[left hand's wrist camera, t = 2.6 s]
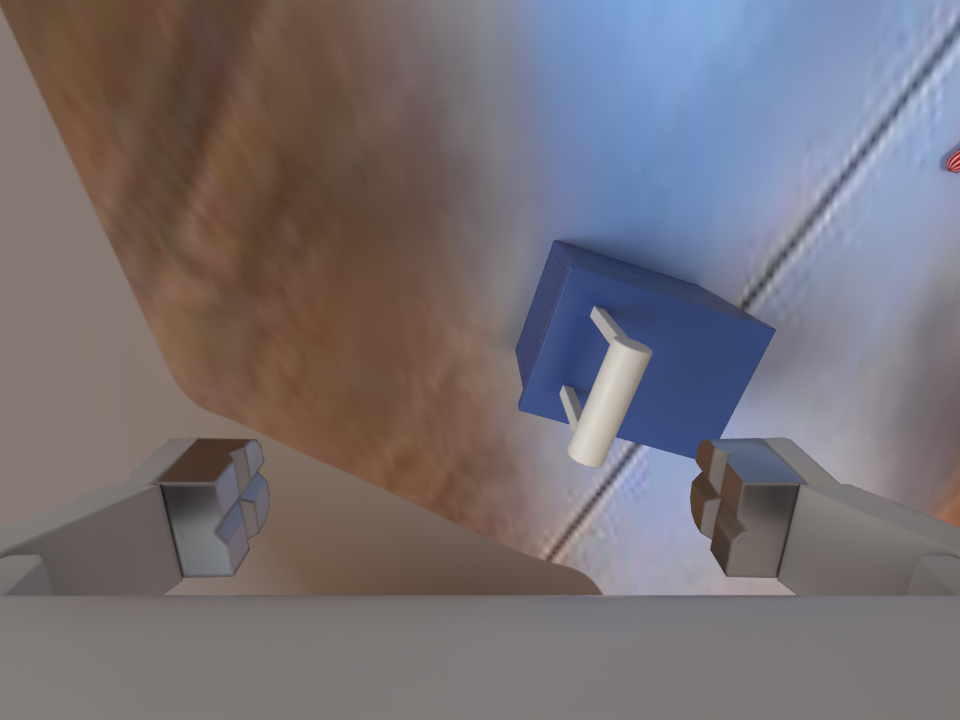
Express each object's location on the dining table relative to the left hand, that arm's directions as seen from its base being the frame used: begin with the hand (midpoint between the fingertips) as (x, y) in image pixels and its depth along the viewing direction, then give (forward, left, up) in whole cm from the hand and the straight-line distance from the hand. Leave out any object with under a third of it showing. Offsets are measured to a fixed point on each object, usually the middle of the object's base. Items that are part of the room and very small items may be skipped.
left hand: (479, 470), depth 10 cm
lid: (-4, +11, -23) cm, 26 cm away
